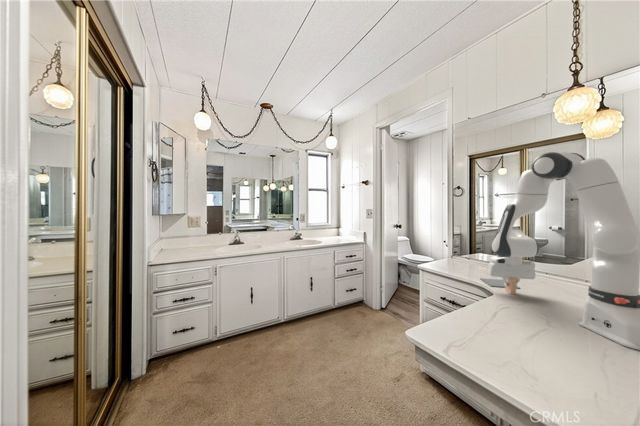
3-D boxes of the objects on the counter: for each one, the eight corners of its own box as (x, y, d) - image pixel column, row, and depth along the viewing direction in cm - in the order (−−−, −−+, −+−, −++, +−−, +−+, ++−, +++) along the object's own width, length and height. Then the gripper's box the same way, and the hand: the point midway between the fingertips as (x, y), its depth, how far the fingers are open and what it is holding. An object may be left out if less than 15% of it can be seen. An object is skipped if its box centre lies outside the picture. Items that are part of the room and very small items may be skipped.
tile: (515, 294, 121) (516, 278, 120) (511, 293, 121) (511, 278, 121) (509, 290, 127) (509, 275, 126) (505, 289, 127) (505, 275, 127)
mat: (520, 288, 129) (520, 287, 129) (490, 286, 132) (490, 285, 132) (506, 281, 142) (506, 280, 142) (480, 279, 146) (480, 278, 146)
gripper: (531, 259, 124) (530, 285, 124) (486, 257, 129) (485, 282, 129) (539, 262, 118) (538, 289, 118) (492, 259, 123) (491, 286, 123)
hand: (510, 286), depth 124 cm, fingers closed on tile, 2 cm apart
